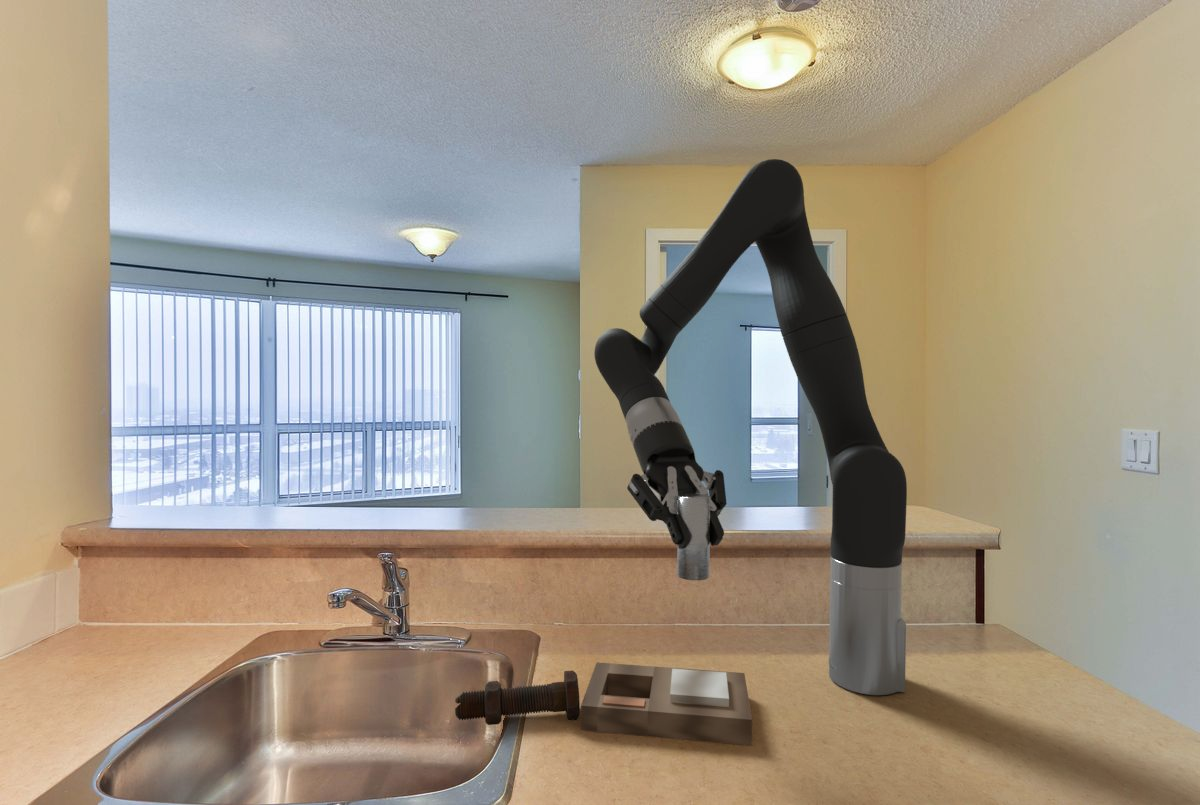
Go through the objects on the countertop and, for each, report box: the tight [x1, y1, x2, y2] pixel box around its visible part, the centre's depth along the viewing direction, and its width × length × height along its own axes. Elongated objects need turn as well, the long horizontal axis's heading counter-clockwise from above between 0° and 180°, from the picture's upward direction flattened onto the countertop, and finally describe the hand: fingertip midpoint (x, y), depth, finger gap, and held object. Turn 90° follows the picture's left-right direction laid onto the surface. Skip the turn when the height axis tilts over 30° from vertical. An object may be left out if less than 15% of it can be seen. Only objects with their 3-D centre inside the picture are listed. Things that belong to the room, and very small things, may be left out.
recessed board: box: [580, 661, 753, 747], centre depth 79 cm, size 20×12×4 cm, turn 81°
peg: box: [676, 494, 711, 581], centre depth 78 cm, size 4×4×10 cm
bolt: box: [454, 670, 581, 726], centre depth 78 cm, size 6×5×15 cm
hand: (701, 543), depth 77 cm, fingers closed on peg, 4 cm apart
